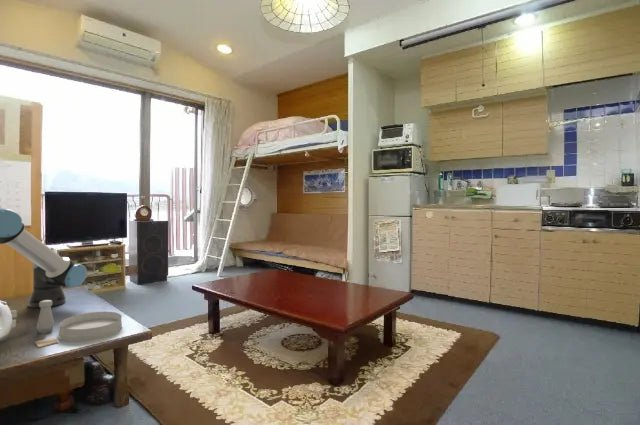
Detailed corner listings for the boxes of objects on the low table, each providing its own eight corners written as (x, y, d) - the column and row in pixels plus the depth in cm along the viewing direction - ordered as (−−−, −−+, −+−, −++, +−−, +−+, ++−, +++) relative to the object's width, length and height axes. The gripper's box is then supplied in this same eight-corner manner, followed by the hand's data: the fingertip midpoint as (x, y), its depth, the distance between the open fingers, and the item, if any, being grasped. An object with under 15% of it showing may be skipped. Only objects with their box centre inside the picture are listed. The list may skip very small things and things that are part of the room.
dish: (90, 320, 156) (90, 309, 155) (133, 324, 152) (133, 314, 152) (43, 338, 134) (44, 326, 134) (92, 344, 130) (93, 332, 130)
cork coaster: (34, 343, 129) (34, 341, 129) (54, 338, 134) (54, 337, 133) (38, 347, 125) (38, 346, 125) (58, 343, 130) (58, 341, 130)
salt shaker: (50, 328, 144) (51, 297, 144) (56, 331, 141) (57, 300, 141) (33, 332, 139) (34, 300, 139) (39, 335, 136) (40, 303, 136)
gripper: (-58, 328, 130) (17, 318, 143) (-73, 352, 111) (14, 337, 124) (-57, 309, 129) (17, 301, 143) (-73, 329, 110) (15, 317, 124)
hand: (16, 318), depth 134 cm, fingers open, 13 cm apart
